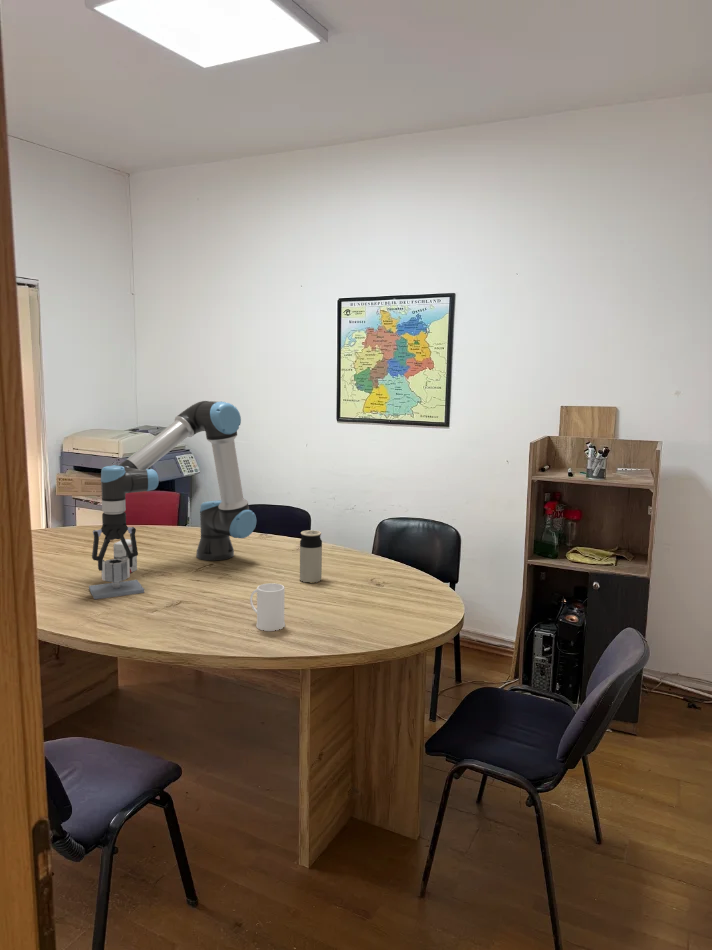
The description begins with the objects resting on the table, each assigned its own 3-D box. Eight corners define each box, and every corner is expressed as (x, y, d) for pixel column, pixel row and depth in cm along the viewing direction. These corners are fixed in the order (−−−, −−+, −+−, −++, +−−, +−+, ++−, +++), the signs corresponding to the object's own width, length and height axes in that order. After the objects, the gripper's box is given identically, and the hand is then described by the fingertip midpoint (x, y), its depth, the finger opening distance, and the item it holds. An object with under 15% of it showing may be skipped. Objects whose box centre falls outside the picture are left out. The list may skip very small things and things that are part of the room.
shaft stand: (137, 582, 234) (136, 563, 233) (144, 592, 224) (143, 572, 223) (89, 589, 227) (88, 568, 226) (94, 599, 216) (93, 578, 215)
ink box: (125, 576, 242) (124, 544, 240) (113, 575, 243) (112, 544, 241) (137, 569, 251) (137, 539, 249) (126, 568, 252) (125, 538, 250)
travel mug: (325, 578, 244) (325, 531, 241) (314, 584, 237) (315, 536, 234) (306, 575, 247) (306, 529, 245) (295, 581, 240) (296, 533, 237)
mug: (242, 624, 197) (242, 585, 196) (261, 616, 204) (261, 579, 202) (271, 633, 191) (272, 593, 189) (290, 625, 198) (291, 586, 196)
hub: (124, 574, 229) (124, 557, 229) (128, 580, 223) (128, 562, 222) (103, 577, 226) (102, 560, 225) (106, 582, 220) (106, 565, 219)
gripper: (142, 507, 230) (143, 571, 233) (80, 512, 220) (82, 578, 223) (147, 511, 223) (148, 577, 226) (83, 516, 213) (85, 584, 216)
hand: (115, 577), depth 225 cm, fingers closed on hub, 7 cm apart
